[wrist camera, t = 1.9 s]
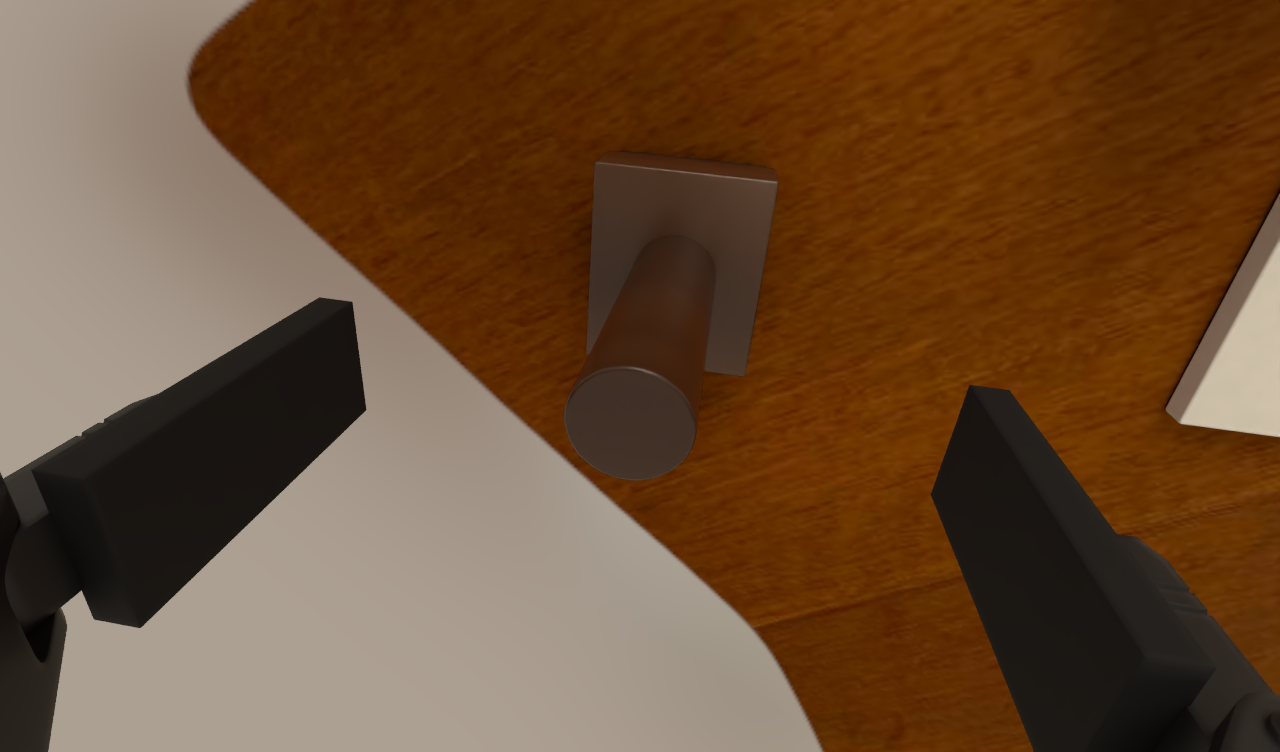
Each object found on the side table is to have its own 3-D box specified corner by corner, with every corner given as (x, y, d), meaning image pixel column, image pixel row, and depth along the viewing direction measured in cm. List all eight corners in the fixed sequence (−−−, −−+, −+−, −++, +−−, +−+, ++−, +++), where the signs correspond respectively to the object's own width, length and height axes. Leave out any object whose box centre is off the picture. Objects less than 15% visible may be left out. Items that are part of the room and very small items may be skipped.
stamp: (615, 143, 22) (489, 250, 12) (774, 160, 22) (801, 289, 11) (604, 316, 25) (497, 532, 15) (745, 335, 25) (743, 572, 14)
